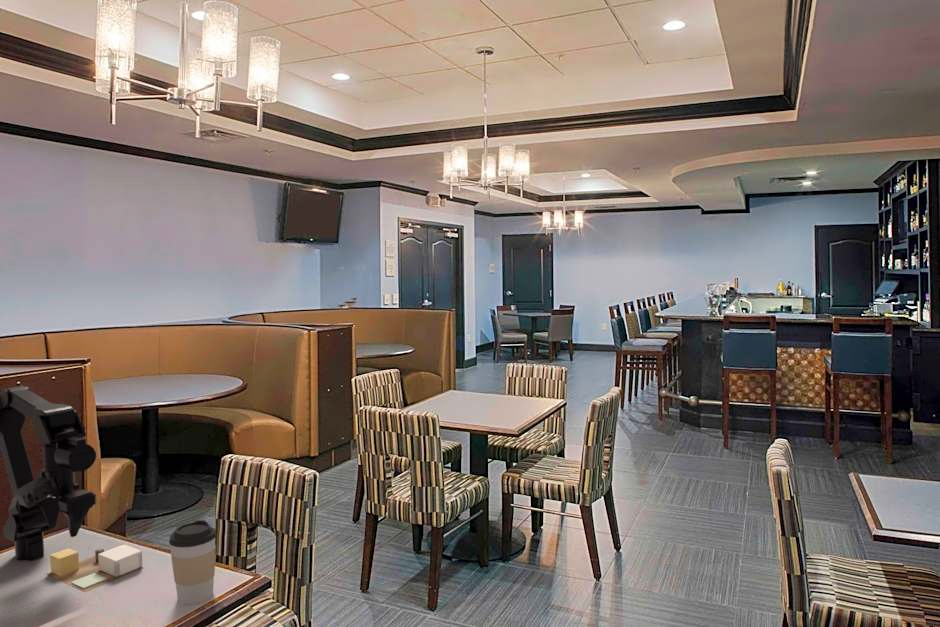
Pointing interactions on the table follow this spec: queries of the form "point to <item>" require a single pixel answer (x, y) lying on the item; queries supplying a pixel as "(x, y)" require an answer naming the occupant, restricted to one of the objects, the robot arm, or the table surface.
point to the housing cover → (120, 560)
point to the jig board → (88, 572)
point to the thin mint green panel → (89, 580)
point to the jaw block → (64, 562)
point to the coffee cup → (193, 561)
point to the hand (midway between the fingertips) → (62, 532)
